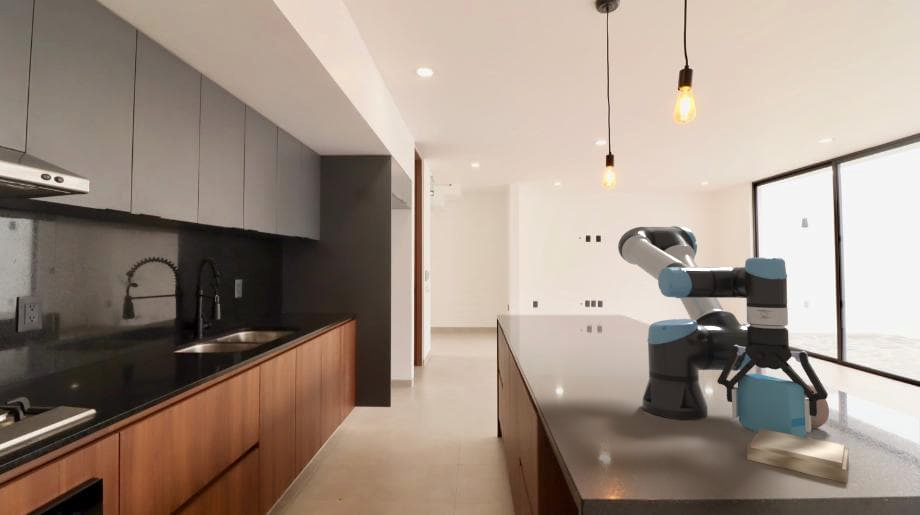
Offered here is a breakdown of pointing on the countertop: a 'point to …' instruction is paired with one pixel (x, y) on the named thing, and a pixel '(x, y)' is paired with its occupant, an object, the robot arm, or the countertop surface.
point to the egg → (819, 411)
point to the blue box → (771, 404)
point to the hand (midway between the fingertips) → (770, 423)
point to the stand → (800, 454)
